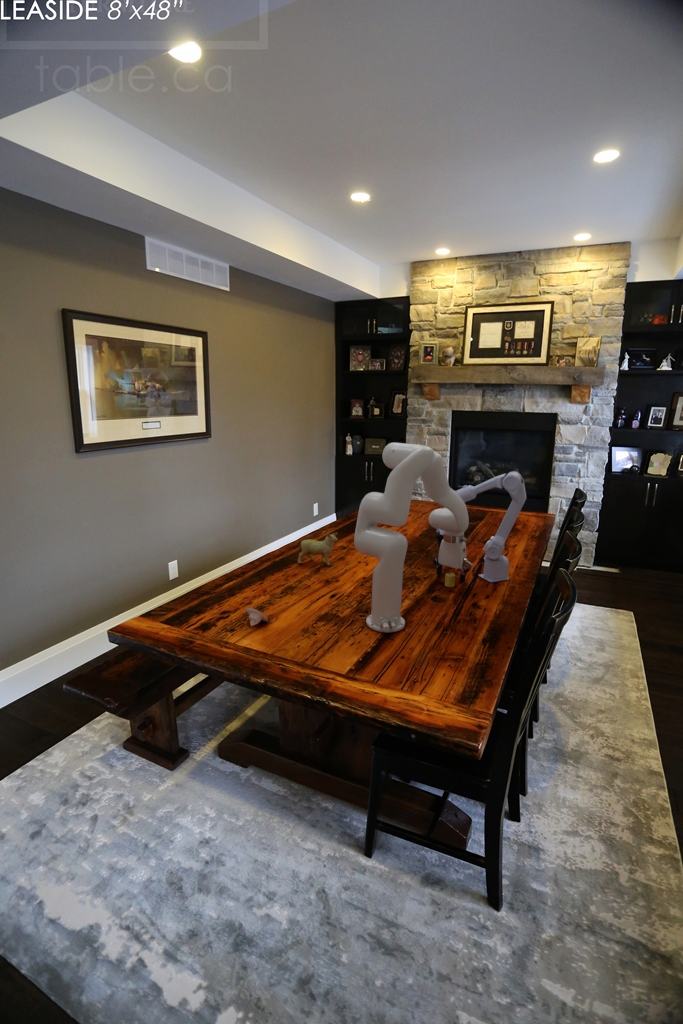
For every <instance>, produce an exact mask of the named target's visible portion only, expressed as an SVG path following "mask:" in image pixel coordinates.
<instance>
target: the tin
mask: <svg viewBox="0 0 683 1024" xmlns="http://www.w3.org/2000/svg"><path fill="white" fill-rule="evenodd" d="M455 585H456V573H453V572H446V573H445V577H444V586H445V587H447V588H454V587H455Z"/></svg>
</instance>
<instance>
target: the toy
mask: <svg viewBox="0 0 683 1024" xmlns="http://www.w3.org/2000/svg"><path fill="white" fill-rule="evenodd" d="M337 535H338V532H333V533H332V534H330V533H327V534H326V536H325V539H324V540H320V541H319V540H315V539H311V538H309V539H308V538H307V539H304V540H301V542H300V548H301V551H300V552H299V554H298V559H297V564H298V565H302V563H303V562H302V558H303V557H304V556H306V557H307V558H308V559H309V560H310V562H314V558H313V556H312V555H314V556H315V555H316V556H318V555H321V558H320V563H325V561H326V565H327V566H328V567H332V564H331V563H330V561H329V556H330V555H331V553H332V552H333V550H334V545H335V544H334V542H335V543H337V542H338V541H339V538H337V537H336V536H337ZM311 554H312V555H311Z"/></svg>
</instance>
